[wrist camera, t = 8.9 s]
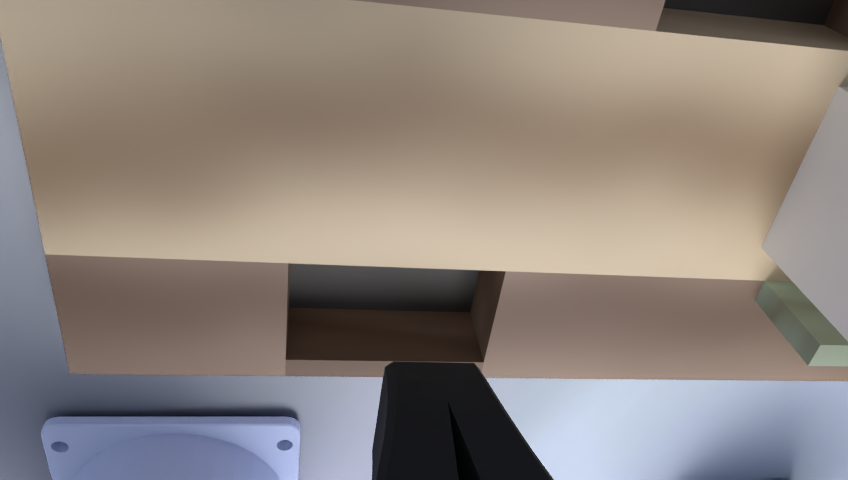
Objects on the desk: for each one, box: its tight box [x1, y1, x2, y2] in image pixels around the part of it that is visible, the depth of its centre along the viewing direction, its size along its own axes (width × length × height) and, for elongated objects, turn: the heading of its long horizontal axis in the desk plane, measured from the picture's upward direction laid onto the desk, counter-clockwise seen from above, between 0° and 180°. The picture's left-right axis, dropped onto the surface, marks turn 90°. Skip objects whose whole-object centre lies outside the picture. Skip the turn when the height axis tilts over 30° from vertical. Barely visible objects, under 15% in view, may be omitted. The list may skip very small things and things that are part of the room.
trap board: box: [0, 0, 848, 381], centre depth 16 cm, size 14×24×5 cm, turn 82°
